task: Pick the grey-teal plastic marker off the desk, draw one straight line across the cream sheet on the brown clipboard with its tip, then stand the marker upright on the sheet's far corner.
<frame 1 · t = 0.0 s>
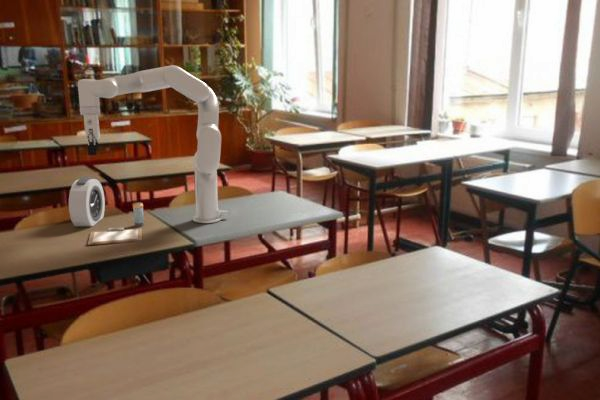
hand: (93, 153, 232), 32 cm above the table, tool pointing down, fingers open, 9 cm apart
alarm clock: (89, 222, 249), on the table
clipboard: (115, 236, 229), on the table
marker: (139, 226, 243), on the table
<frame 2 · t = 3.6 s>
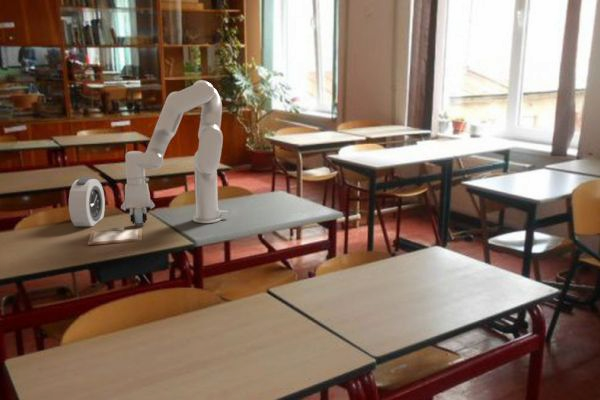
hand: (138, 222, 243), 2 cm above the table, tool pointing down, fingers closed on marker, 3 cm apart
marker: (139, 226, 243), on the table, touching gripper
everything else where it was.
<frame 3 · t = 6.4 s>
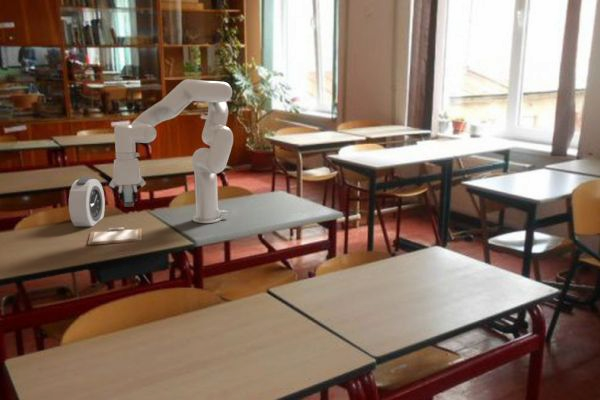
hand: (128, 201, 227), 14 cm above the table, tool pointing down, fingers closed on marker, 3 cm apart
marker: (129, 205, 227), point 13 cm above the table, touching gripper
everything else where it was.
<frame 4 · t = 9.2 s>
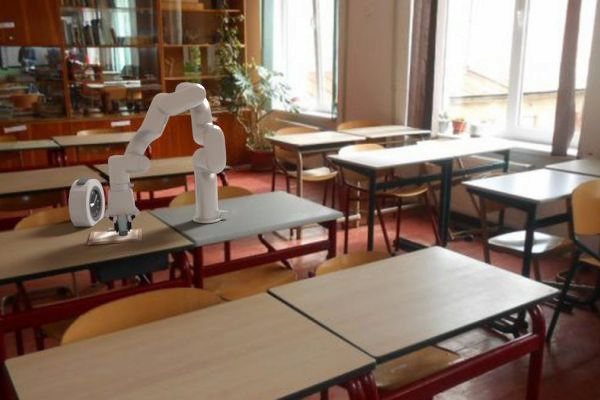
hand: (123, 230, 229), 2 cm above the table, tool pointing down, fingers closed on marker, 3 cm apart
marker: (123, 234, 230), point 1 cm above the table, touching gripper
everything else where it was.
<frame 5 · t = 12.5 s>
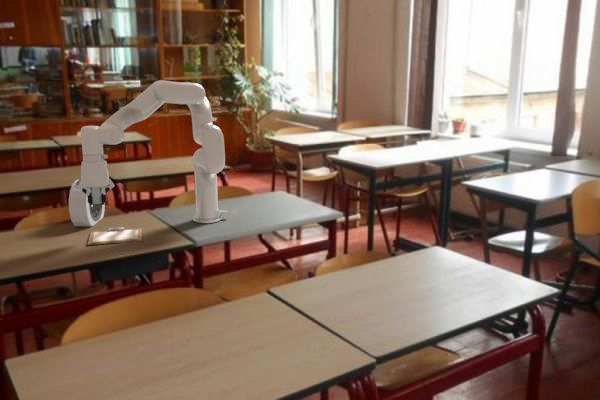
hand: (97, 203, 223), 14 cm above the table, tool pointing down, fingers closed on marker, 3 cm apart
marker: (97, 207, 224), point 13 cm above the table, touching gripper
everything else where it was.
when the fingers open (3 cm above the table, at t = 15.2 s): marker drops 1 cm, resting on clipboard.
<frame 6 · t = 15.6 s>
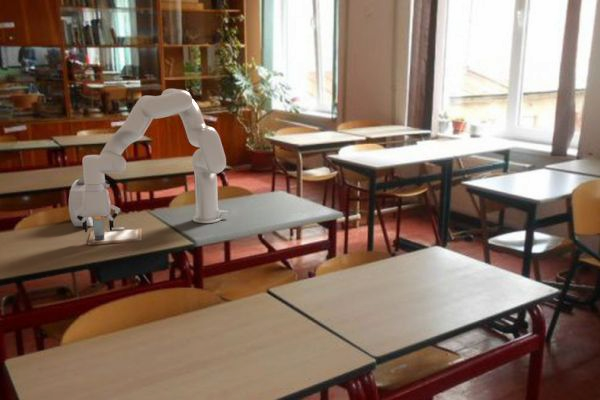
hand: (98, 230, 223), 4 cm above the table, tool pointing down, fingers open, 8 cm apart
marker: (99, 239, 224), point 1 cm above the table, touching clipboard
everything else where it was.
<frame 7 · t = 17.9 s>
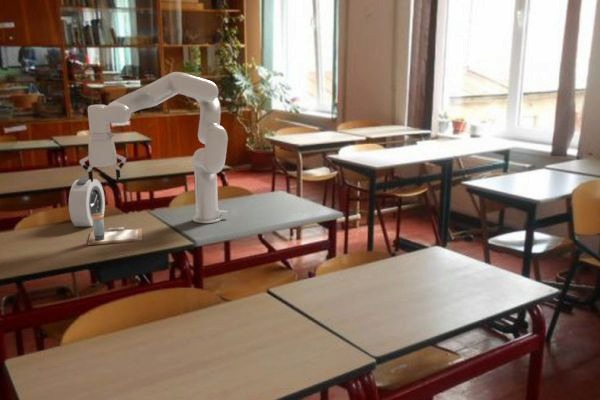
hand: (105, 180, 224), 23 cm above the table, tool pointing down, fingers open, 9 cm apart
nothing on the table moved.
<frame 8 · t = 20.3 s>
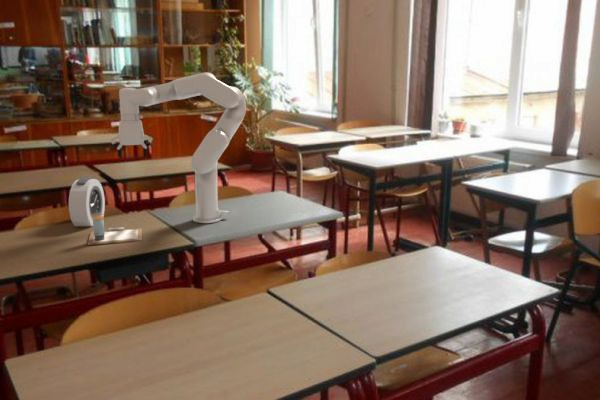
hand: (132, 158, 244), 28 cm above the table, tool pointing down, fingers open, 9 cm apart
nothing on the table moved.
at the end: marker inside the target area (0.1 cm from its centre), point 0.7 cm above the table; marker tilted 1°; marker touching clipboard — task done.
